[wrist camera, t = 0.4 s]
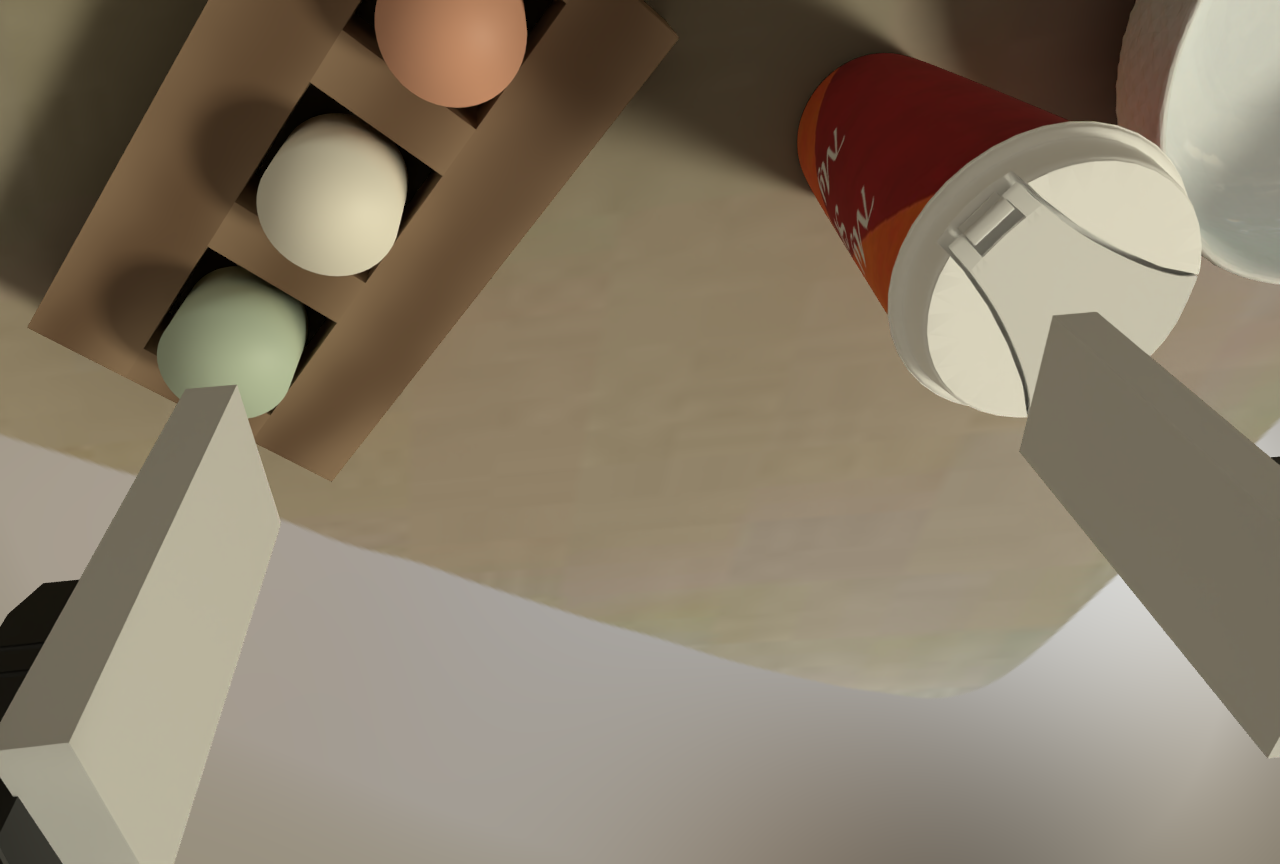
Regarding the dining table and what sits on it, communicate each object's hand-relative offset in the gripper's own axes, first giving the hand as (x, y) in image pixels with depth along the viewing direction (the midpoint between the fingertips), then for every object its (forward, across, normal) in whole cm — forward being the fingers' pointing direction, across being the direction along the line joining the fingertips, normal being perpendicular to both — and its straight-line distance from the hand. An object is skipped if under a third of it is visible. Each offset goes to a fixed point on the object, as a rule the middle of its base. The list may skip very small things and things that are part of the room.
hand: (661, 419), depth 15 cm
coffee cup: (+22, +11, -2) cm, 25 cm away
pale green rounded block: (+21, -13, -7) cm, 25 cm away
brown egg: (+21, -4, +3) cm, 21 cm away
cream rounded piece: (+21, -8, -2) cm, 22 cm away
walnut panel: (+22, -8, -2) cm, 24 cm away
